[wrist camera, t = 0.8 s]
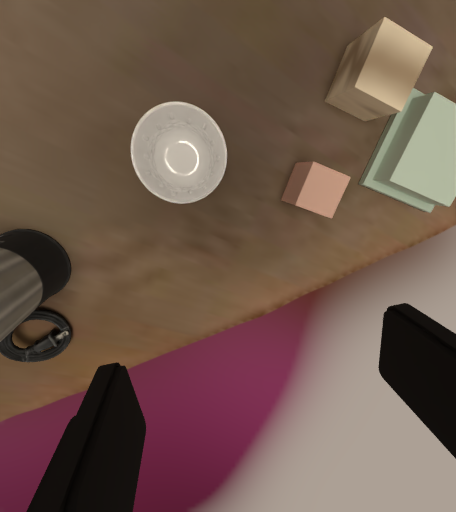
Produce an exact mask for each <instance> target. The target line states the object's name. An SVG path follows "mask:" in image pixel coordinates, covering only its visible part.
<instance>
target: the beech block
mask: <svg viewBox="0 0 456 512" xmlns="http://www.w3.org/2000/svg"><path fill="white" fill-rule="evenodd" d="M432 48H433V47H432V46H431V45H429V44H427V43H426V42H424V41H423V40H421V39H419V38H418V37H416V36H415V35H413V34H411V33H410V32H408V31H407V30H405V29H404V28H402V27H400V26H399V25H397V24H396V23H394V22H392V21H391V20H389V19H388V18H386V17H384V18H382V19H381V20H380V21H378V22H377V23H376V24H375V25H373V26H372V27H371V28H369V29H368V30H367V31H366V32H364V33H363V34H362V35H360V36H359V37H358V38H357V39H355V40H354V41H353V42H351V43H350V44H349V45H348V46H347V48H346V50H345V53H344V55H343V58H342V60H341V63H340V65H339V68H338V70H337V72H336V75H335V77H334V80H333V82H332V85H331V87H330V90H329V92H328V95H327V97H326V100H325V102H326V103H328V104H331V105H333V106H335V107H337V108H339V109H341V110H343V111H345V112H347V113H349V114H351V115H353V116H355V117H357V118H359V119H361V120H363V121H368V120H372V119H376V118H380V117H383V116H387V115H391V114H395V113H398V112H402V109H403V107H404V105H405V103H406V101H407V99H408V97H409V95H410V93H411V91H412V89H413V87H414V85H415V83H416V81H417V79H418V77H419V75H420V72H421V70H422V68H423V66H424V64H425V62H426V60H427V58H428V56H429V54H430V52H431V50H432Z"/></svg>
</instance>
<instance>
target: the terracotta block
mask: <svg viewBox="0 0 456 512" xmlns="http://www.w3.org/2000/svg"><path fill="white" fill-rule="evenodd" d="M350 178H351V177H349V176H347V175H344V174H342V173H340V172H337V171H335V170H333V169H330V168H328V167H325V166H323V165H321V164H318V163H316V162H314V161H313V162H296V164H295V166H294V169H293V171H292V174H291V176H290V179H289V181H288V184H287V186H286V189H285V191H284V194H283V196H282V199H281V200H282V201H285V202H287V203H290V204H293V205H295V206H298V207H301V208H304V209H306V210H309V211H312V212H315V213H317V214H320V215H323V216H326V217H329V218H332V217H333V215H334V212H335V210H336V208H337V206H338V204H339V202H340V200H341V197H342V195H343V193H344V191H345V189H346V187H347V184H348V182H349V180H350Z"/></svg>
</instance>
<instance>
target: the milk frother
mask: <svg viewBox="0 0 456 512" xmlns="http://www.w3.org/2000/svg"><path fill="white" fill-rule="evenodd" d="M70 274H71V266H70V261H69V258H68V255H67V253H66V252H65V251H64V249H63V248H62V247H61V246H60V244H59V243H57V242H56V241H55V240H54V239H52V238H51V237H49V236H47V235H45V234H43V233H41V232H38V231H34V230H29V229H17V230H12V231H8V232H5V233H3V234H1V235H0V353H1V354H2V355H4V356H5V357H7V358H9V359H11V360H16V361H21V362H38V361H44V360H48V359H51V358H53V357H55V356H57V355H59V354H60V353H61V352H62V351H64V350H65V349H66V347H67V346H68V344H69V342H70V339H71V329H70V327H69V325H68V323H67V322H66V320H65V319H64V318H63V317H61V316H60V315H59V314H57V313H55V312H51V311H47V310H35V309H36V308H37V307H38V306H40V305H41V304H42V303H43V302H44V301H45V300H47V299H48V298H49V297H50V296H52V295H54V294H56V293H57V292H59V291H60V290H62V289H63V288H64V287H65V285H66V284H67V282H68V280H69V277H70ZM34 319H39V320H46V321H49V322H52V323H54V324H55V325H56V326H57V327H58V328H59V329H60V330H61V331H60V333H59V334H57V333H56V331H55V330H52V331H51V332H50V334H48V335H46V336H45V337H44V338H42V339H41V340H37V341H36V342H35V343H34V345H31V346H28V347H27V348H19V347H18V346H16V345H14V343H13V341H12V334H13V331H14V329H15V328H16V327H17V326H18V325H19V324H21V323H23V322H25V321H28V320H34ZM51 346H55V347H53V348H51V349H48V350H46V351H43V352H41V351H42V350H45V349H47V348H49V347H51Z"/></svg>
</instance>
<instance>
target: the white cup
mask: <svg viewBox="0 0 456 512" xmlns="http://www.w3.org/2000/svg"><path fill="white" fill-rule="evenodd" d="M131 158H132V163H133V166H134V169H135V172H136V174H137V176H138V177H139V179H140V181H141V182H142V183H143V185H144V186H145V187H146V188H147V189H148V190H149V191H150V192H152V193H153V194H154V195H156V196H157V197H159V198H161V199H163V200H166V201H169V202H172V203H179V204H185V203H192V202H196V201H198V200H201V199H203V198H205V197H206V196H208V195H209V194H210V193H211V192H212V191H213V190H214V189H215V188H216V187H217V186H218V184H219V183H220V181H221V179H222V177H223V175H224V172H225V169H226V164H227V148H226V143H225V140H224V137H223V134H222V132H221V130H220V128H219V127H218V125H217V124H216V122H215V121H214V120H213V119H212V118H211V117H210V116H209V115H208V114H207V113H206V112H205V111H203V110H202V109H200V108H198V107H196V106H194V105H192V104H189V103H185V102H167V103H163V104H160V105H157V106H155V107H154V108H152V109H150V110H149V111H148V112H147V113H145V114H144V115H143V117H142V118H141V119H140V120H139V122H138V124H137V125H136V127H135V130H134V132H133V135H132V140H131Z"/></svg>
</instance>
